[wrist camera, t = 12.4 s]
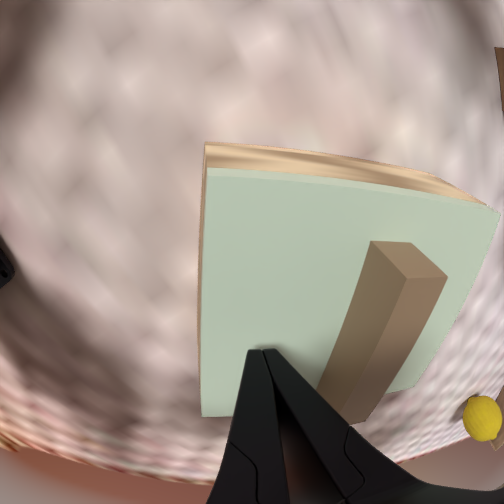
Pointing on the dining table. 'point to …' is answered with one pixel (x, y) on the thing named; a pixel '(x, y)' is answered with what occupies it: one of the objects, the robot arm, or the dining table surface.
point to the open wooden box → (315, 166)
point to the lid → (331, 282)
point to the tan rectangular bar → (501, 70)
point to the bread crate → (496, 443)
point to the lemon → (482, 418)
